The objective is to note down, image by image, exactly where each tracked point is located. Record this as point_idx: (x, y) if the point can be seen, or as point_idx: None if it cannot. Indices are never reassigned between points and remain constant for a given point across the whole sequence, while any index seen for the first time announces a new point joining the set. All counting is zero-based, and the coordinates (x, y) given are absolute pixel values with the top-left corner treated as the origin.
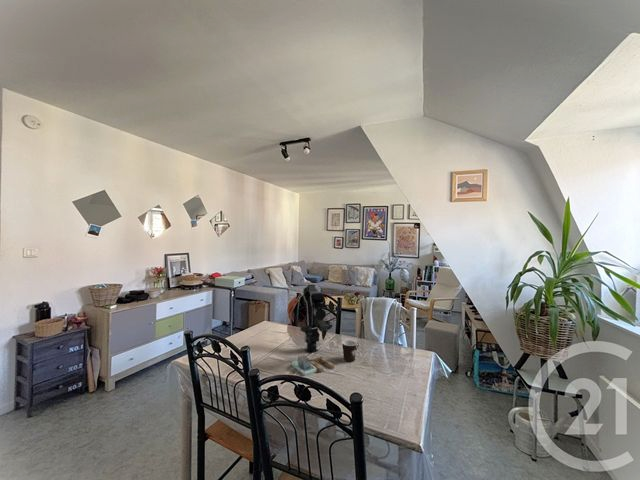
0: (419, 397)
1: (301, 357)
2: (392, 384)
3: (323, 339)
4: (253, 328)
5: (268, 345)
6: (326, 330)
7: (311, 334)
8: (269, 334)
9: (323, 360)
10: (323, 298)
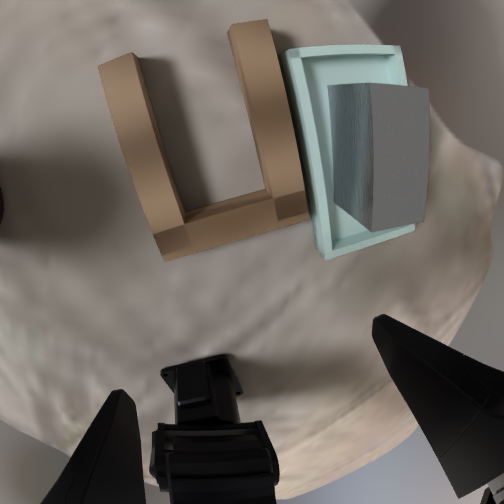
0: None
1: (410, 195)
2: None
3: (121, 393)
4: (340, 476)
5: (369, 416)
6: None
7: (235, 476)
8: (320, 466)
9: (168, 178)
10: None
